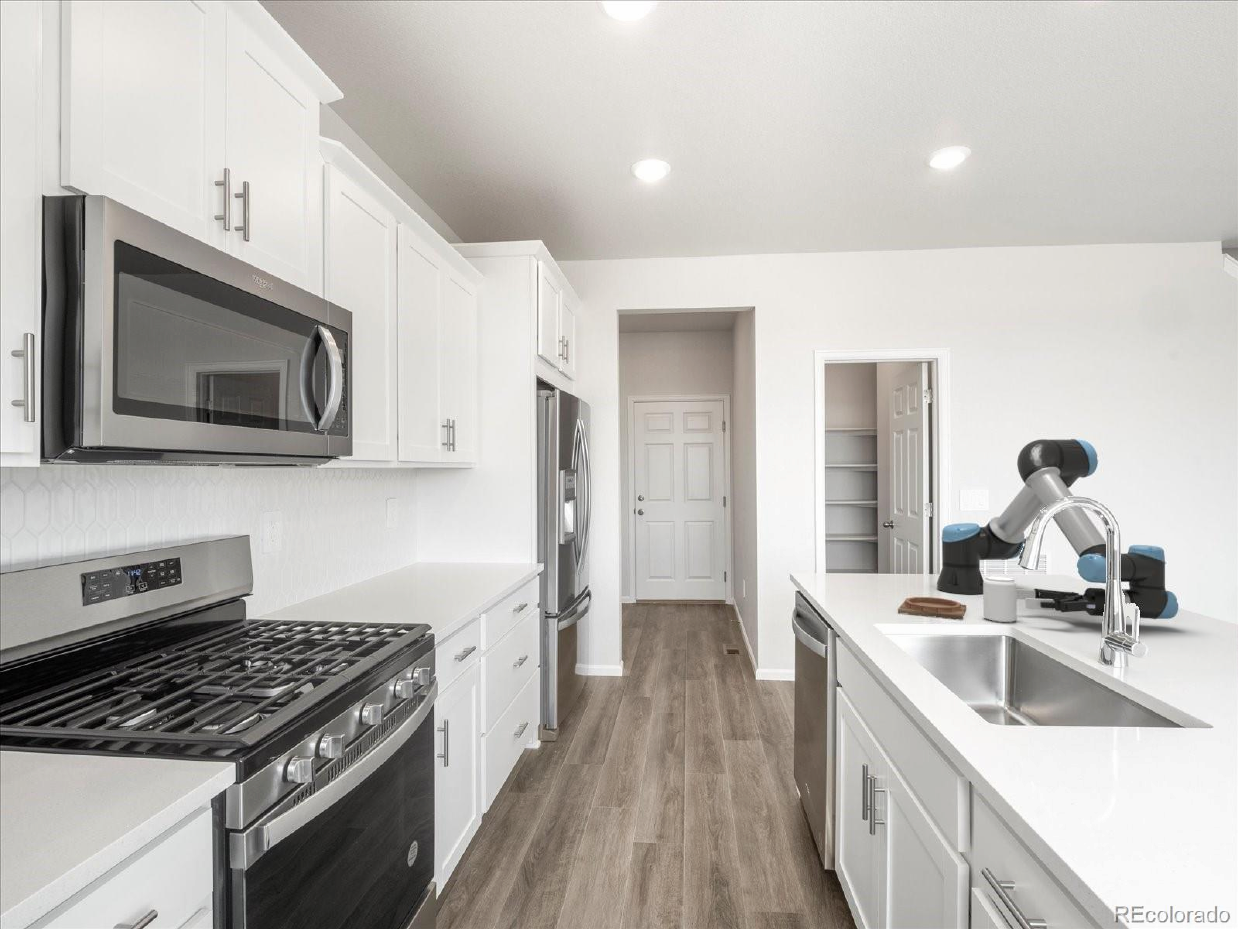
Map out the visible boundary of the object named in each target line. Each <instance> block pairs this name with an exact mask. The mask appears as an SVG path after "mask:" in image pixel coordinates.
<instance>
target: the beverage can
mask: <svg viewBox="0 0 1238 929" xmlns="http://www.w3.org/2000/svg"><path fill="white" fill-rule="evenodd" d="M983 580H984V581H983V604H982V605H983V617H984V618H985V619H987V620H988V619H989V620H988V621H990V620H992V621H991V622H994V621H998V622H997V623H1002V622H1010V623H1013V622H1015V621H1017V619H1018V617H1017V616H1018V615H1017V611H1018V610H1017V608H1018V607H1017V606H1018V604H1017V600H1018V599H1017V593H1016V589H1017V582H1016V581H1015V578H1014V577H1010V576H1003V575H1002V576H1001V575H986V576H985V578H984V579H983ZM1012 621H1013V622H1012Z"/></svg>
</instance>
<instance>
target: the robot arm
mask: <svg viewBox="0 0 1238 929" xmlns="http://www.w3.org/2000/svg"><path fill="white" fill-rule="evenodd" d="M1016 461H1017V462H1016V464H1017V471H1018V473H1019V476H1020V478H1021V479H1022V480H1021V481H1022V482H1023V483H1024V486H1023V487H1022V488H1021V490H1020V491H1019V492H1018V493H1017V494H1016V496H1015V497H1014V499H1012V501H1011V502H1010V504H1009V505H1008V506H1007V507H1005V510H1003V512H1002V513H1001V514H1000V515H999V516H995V517H992V518H991V519H990V520H989V522H988V523H987V524H986V525H985V526H980V525H979V524H978V523H974V522H964V523H962V522H961V523H952V524H948V525H946V526H944V527H943V528H942V532H941V544H942V545H941V551H942V554H941V555H942V556H941V560H942V564H941V566H942V568H941V571H940V574H939V576H938V579H937V583H936V590H938V589H940V590H939V591H941V590H942V591H941V592H945V593H950V592H952V593H951V594H959V595H960V594H961V595H981V594H983V581H984V580H985V579H984V578H983V575H982V572H981V570H980V567H981V566H980V563H981V562H980V561H998V560H999V561H1006V560H1007V561H1008V560H1013V559H1016V558H1018V557H1019V556H1020V555H1021V554H1020V552H1021V550H1022V548H1023V545H1024V544H1025V543H1024V541H1025V542H1026V539H1025V531H1026V530H1027V529H1028V528H1029V527H1030V525H1031V524H1032V523H1033V522H1034V520H1035V519H1036V518H1037V517H1038V516H1039V515H1040V514H1041V513H1040V510H1042V509H1043V508H1044V507H1045V508H1046V507H1047V505H1049V504H1050V503H1053V502H1054V501H1056V500H1060V499H1061V498H1064V497H1068V496H1074V494H1073V493H1072V492H1071V490H1070V489H1069V488H1071V487H1072V485H1074V483H1075V482H1076V481H1077V480H1078V479H1079V478H1083V479H1084V478H1087V477H1090V476H1092V475H1093V474H1094V473H1095V472H1096V470H1097V469H1098V463H1099V460H1098V452H1097V451H1096V448H1095V447H1094V446H1093V445H1092V444H1091V443H1090V442H1088V441H1086V440H1083V439H1076V438H1071V439H1047V438H1046V439H1036V440H1033V441H1030V442H1029V443H1027V444H1025V445H1024V446H1023V447H1022V449H1021V450H1020V451H1019V454H1018V456H1017V460H1016ZM1045 508H1044V509H1045ZM1044 509H1043V510H1044ZM1043 510H1042V511H1043ZM1039 513H1040V514H1039ZM1038 514H1039V515H1038ZM1037 515H1038V516H1037ZM1051 518H1052V519H1053V520H1054V522H1055V524H1056V525H1057V527H1058V528H1059V530H1060V531H1061V532H1062V534H1063V535H1064V537H1065V538H1066V541H1067V542H1068V543H1069V545H1070V546H1071V547H1072V549H1073V550H1074V552H1075V553H1076V555H1077V556H1078V560H1077V562H1076V568H1077V573H1078V575H1079V576H1080V577H1081V578H1082V579H1083V581H1086V582H1087V583H1094V584H1107V583H1106V542H1107V541H1106V540H1105V538H1104V537H1103V535H1102V534H1101V533H1100V531H1099V530H1098V529H1097V527H1096V526H1095V524H1094V522H1092V519H1090V517H1089V516H1088V514H1087V513H1086V511H1085V510H1084V509H1083V507H1082V506H1081V507H1078V506H1074V507H1069V508H1066V509H1064V510H1061V511H1060V512H1058V513H1056V514H1054V516H1053V517H1052V516H1051ZM1120 554H1121V582H1120V583H1128V586H1129V588H1128V589H1126V588H1125V589H1124V588H1121V589H1122V591H1123V593H1124V595H1125V603H1126V604H1127V603H1129V604H1130V603H1135V604H1136V606H1138V607H1139V610H1140V618H1139V619H1152V620H1158V619H1159V620H1163V619H1164V620H1165V619H1167V620H1168V619H1173V618H1174V617H1176V615H1177V614H1178V612H1179V603H1178V598H1177V596H1176V595H1175V593H1173V592H1172V591H1170V590H1167V589H1166V563H1167V562H1166V560H1165V559H1166V557H1165V551H1164V549H1163V548H1162V547H1160V546H1157V545H1147V544H1133V545H1130V546H1129V547H1128V552H1127V553H1120ZM1016 593H1017V600H1025V602H1024V603H1025V606H1024V607H1025V609H1026V610H1029V609H1030V610H1044V611H1045V610H1047V611H1056V612H1057V611H1058V612H1061V613H1071V612H1072V613H1073V612H1074V613H1075V612H1087V614H1088V615H1090V616H1092V617H1104V616H1103V612H1104V604H1105V588H1102V587H1087V588H1086V589H1085V590H1084V593H1083V594H1080V593H1079V592H1075V591H1060V590H1053V589H1052V590H1051V589H1050V590H1048V589H1041V588H1034V589H1022V588H1021V589H1019V588H1018V589H1017V588H1016Z"/></svg>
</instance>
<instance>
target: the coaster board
mask: <svg viewBox="0 0 1238 929" xmlns="http://www.w3.org/2000/svg"><path fill="white" fill-rule="evenodd" d="M966 612H967V604H963V603H960V602H958V601H956V600H952V599H947V598H941V597H931V596H930V597H929V596H914V597H908V598H905V599H904V601H903V602H902V604H901V605H900V606H899V607H898V608H897V614H900V613H908V614H907V615H910V614H914V615H913V616H919V615H921V616H920V617H928V616H936V617H935V618H938V617H945V618H944V619H947V618H951V619H950V620H956V619H963V620H964V617H965V614H966ZM964 613H965V614H964ZM963 616H964V617H963Z"/></svg>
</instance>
